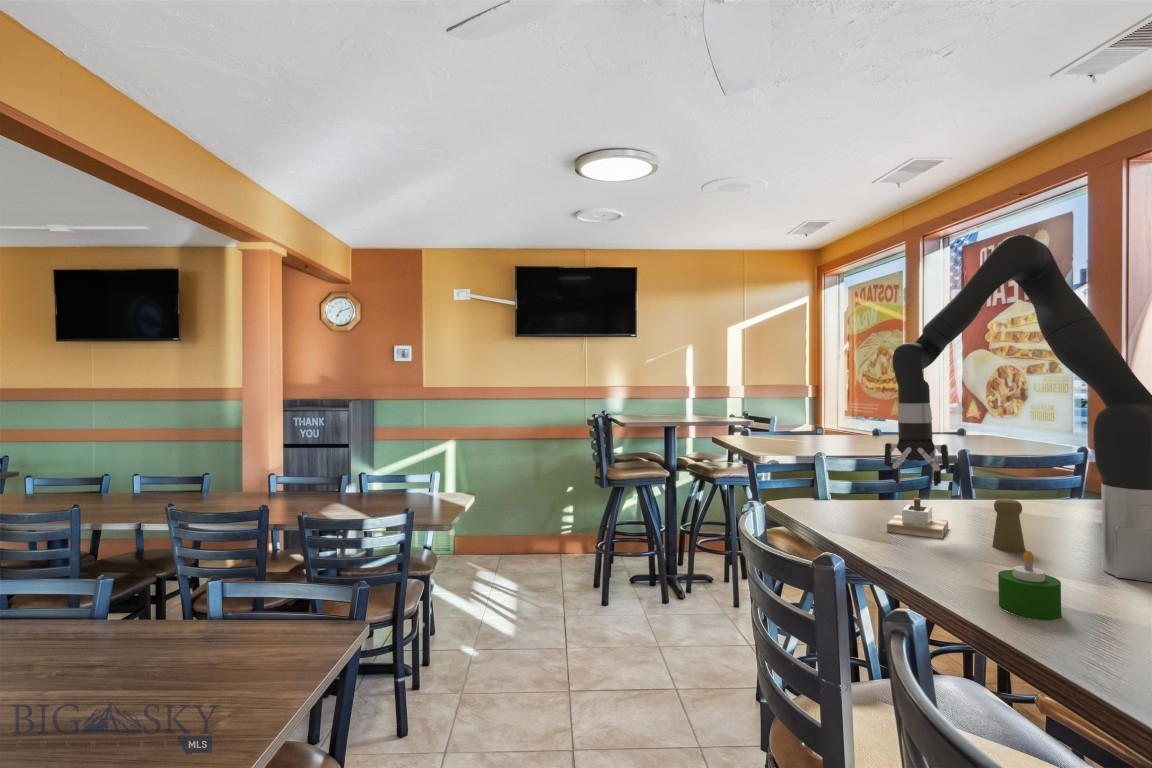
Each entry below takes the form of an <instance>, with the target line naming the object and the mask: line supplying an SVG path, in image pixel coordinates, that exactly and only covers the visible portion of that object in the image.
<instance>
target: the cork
mask: <svg viewBox="0 0 1152 768" xmlns="http://www.w3.org/2000/svg"><path fill="white" fill-rule="evenodd" d="M993 509H994V512H995V513H996V519H995V525H994V533H993V538H992V539H993V540H992V547H993V548H994V549H997V550H1001V551H1005V552H1013V553H1014V552H1016V553H1017V552H1018V553H1019V552H1020V553H1021V552H1024V551H1025V552H1026V546H1025V542H1024V541H1025V540H1024V534H1023V530H1022V529H1023V528H1022V523H1021V518H1020V515H1021V514H1022V512H1023V506H1022V504H1021V502H1020V501H1018V500H1015V499H1010V498H999V499H996V500H995V501H994V503H993Z"/></svg>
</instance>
